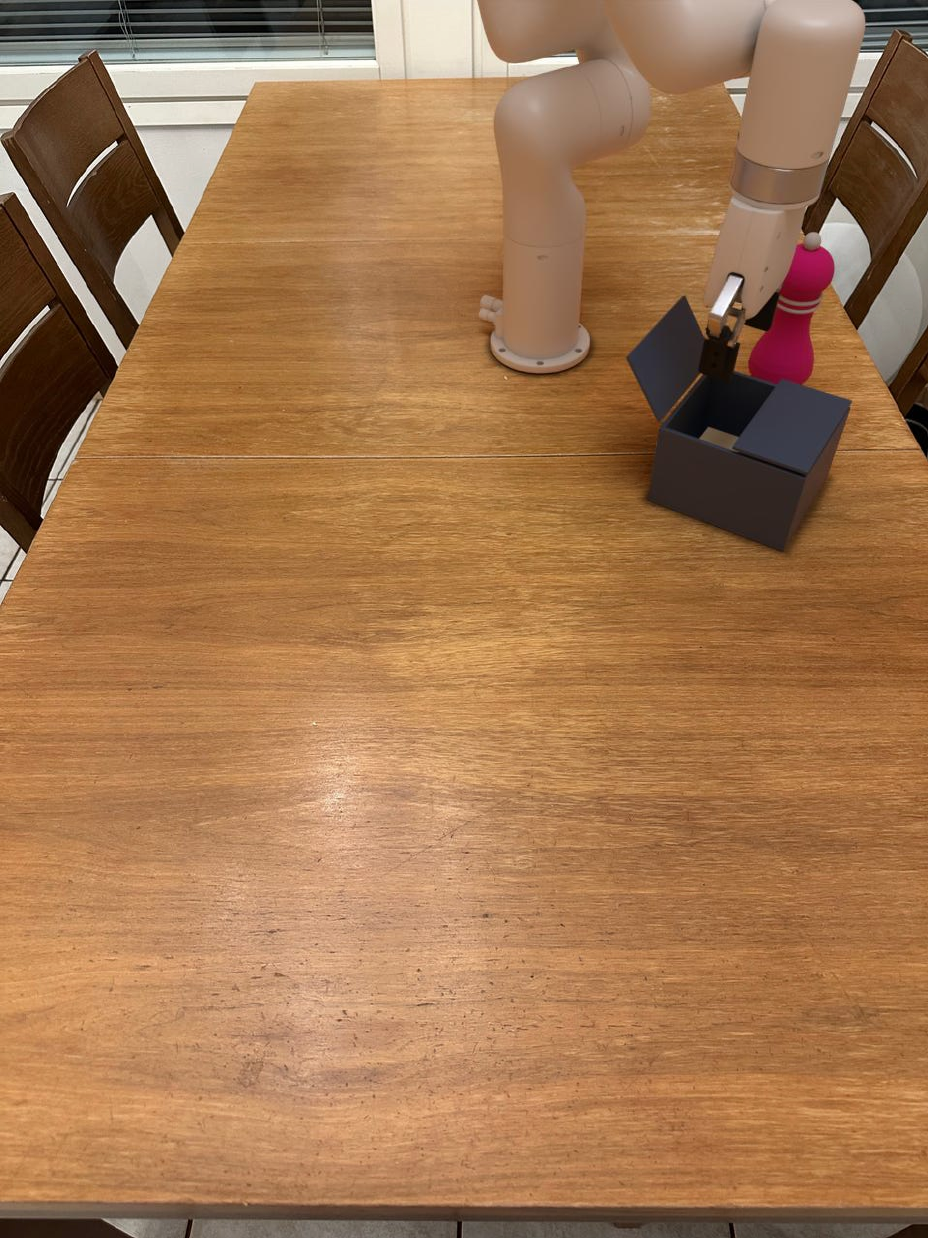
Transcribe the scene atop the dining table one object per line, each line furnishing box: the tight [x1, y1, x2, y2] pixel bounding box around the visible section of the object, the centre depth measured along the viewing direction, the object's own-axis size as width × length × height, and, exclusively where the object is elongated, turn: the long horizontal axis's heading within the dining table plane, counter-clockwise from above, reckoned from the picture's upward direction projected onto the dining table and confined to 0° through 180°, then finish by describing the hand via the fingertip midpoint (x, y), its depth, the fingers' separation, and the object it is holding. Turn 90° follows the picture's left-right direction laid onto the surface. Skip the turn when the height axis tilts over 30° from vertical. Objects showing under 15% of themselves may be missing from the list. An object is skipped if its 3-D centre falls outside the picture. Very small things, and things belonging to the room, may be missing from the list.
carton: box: [647, 370, 853, 552], centre depth 98 cm, size 15×13×10 cm
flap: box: [625, 295, 704, 423], centre depth 95 cm, size 7×13×1 cm
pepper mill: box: [747, 231, 836, 385], centre depth 105 cm, size 7×7×20 cm
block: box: [699, 427, 744, 454], centre depth 101 cm, size 4×4×4 cm
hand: (734, 350), depth 91 cm, fingers open, 9 cm apart
